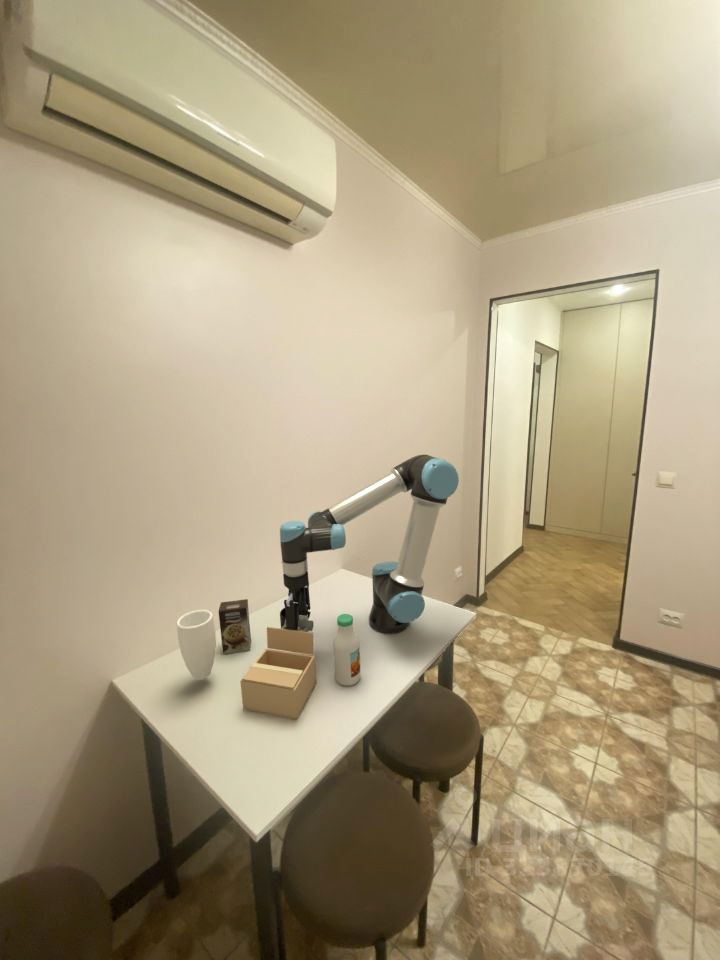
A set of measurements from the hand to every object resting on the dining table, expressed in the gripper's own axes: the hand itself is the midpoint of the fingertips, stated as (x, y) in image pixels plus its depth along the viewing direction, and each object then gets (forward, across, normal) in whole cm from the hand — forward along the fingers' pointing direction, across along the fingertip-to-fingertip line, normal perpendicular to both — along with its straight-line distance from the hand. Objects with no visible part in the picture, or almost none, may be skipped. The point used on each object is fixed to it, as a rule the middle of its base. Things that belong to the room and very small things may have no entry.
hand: (300, 639), depth 122 cm
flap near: (-5, +7, 0) cm, 9 cm away
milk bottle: (+8, +4, +16) cm, 19 cm away
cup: (+8, +15, -26) cm, 31 cm away
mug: (+8, -15, -8) cm, 19 cm away
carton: (+8, +15, 0) cm, 17 cm away
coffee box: (+8, -2, -25) cm, 27 cm away
